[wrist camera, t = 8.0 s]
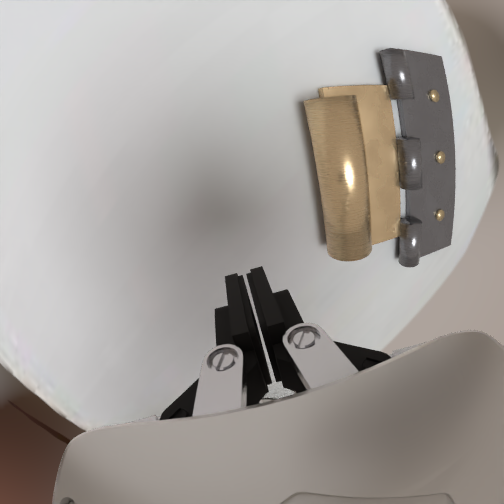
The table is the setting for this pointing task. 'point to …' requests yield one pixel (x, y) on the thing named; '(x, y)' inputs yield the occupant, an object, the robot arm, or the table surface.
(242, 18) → the table surface
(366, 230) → the bronze hinge leaf
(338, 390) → the robot arm
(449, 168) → the steel hinge leaf
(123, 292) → the table surface
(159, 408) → the table surface
